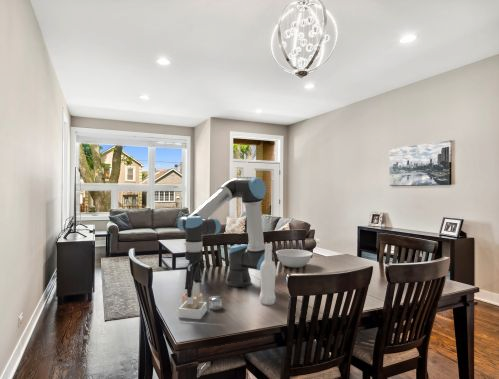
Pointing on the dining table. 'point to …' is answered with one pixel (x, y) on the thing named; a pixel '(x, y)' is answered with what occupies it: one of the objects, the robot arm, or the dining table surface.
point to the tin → (215, 302)
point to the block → (195, 303)
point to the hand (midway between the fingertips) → (193, 300)
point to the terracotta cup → (184, 297)
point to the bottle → (268, 277)
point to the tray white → (193, 311)
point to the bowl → (294, 257)
